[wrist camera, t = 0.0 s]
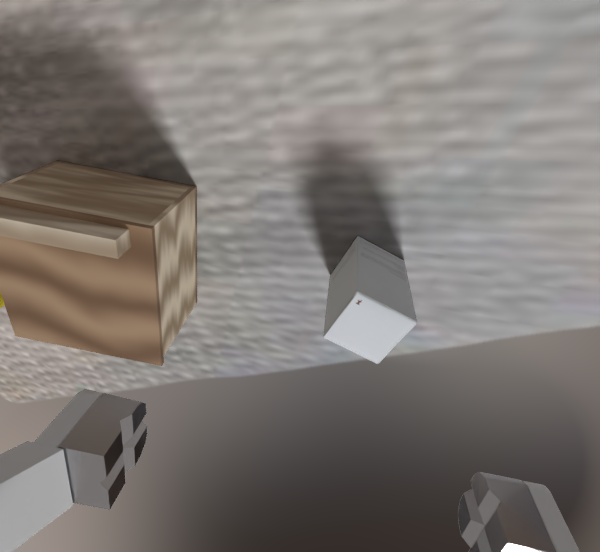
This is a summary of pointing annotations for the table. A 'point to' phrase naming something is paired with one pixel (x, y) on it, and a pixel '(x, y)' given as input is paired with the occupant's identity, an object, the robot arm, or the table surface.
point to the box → (135, 208)
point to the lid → (80, 280)
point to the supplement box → (369, 301)
